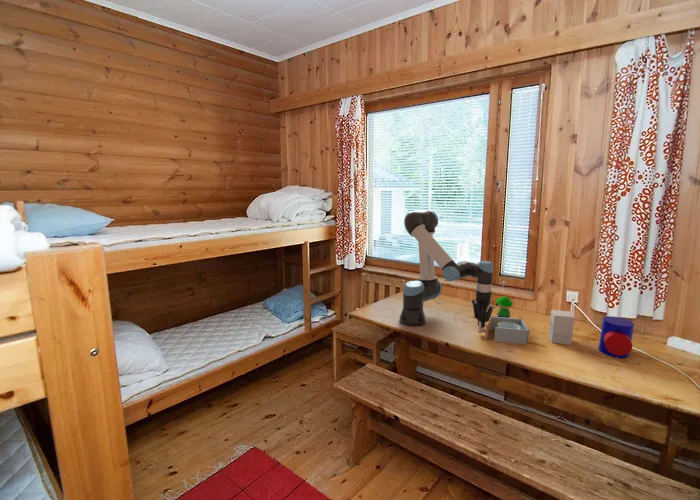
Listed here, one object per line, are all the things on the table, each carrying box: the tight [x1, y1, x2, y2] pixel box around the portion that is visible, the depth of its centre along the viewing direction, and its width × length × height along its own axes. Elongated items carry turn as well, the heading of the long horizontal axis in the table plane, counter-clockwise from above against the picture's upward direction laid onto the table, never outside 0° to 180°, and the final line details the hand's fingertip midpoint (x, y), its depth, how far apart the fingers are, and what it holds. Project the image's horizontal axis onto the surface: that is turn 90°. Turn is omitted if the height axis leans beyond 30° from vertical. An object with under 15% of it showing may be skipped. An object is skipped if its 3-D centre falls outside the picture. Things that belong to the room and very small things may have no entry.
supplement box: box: [548, 309, 575, 346], centre depth 184 cm, size 9×9×15 cm
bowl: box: [497, 322, 521, 329], centre depth 189 cm, size 11×12×6 cm
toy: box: [495, 296, 514, 318], centre depth 209 cm, size 9×9×15 cm
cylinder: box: [598, 315, 635, 359], centre depth 171 cm, size 20×12×16 cm, turn 149°
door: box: [483, 316, 491, 340], centre depth 192 cm, size 2×16×7 cm, turn 152°
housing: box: [490, 316, 530, 345], centre depth 189 cm, size 16×16×8 cm
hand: (480, 332), depth 191 cm, fingers closed
